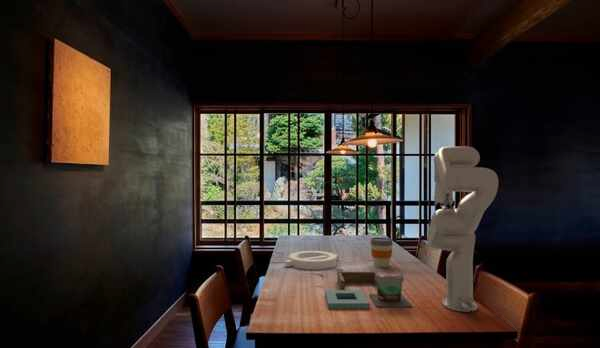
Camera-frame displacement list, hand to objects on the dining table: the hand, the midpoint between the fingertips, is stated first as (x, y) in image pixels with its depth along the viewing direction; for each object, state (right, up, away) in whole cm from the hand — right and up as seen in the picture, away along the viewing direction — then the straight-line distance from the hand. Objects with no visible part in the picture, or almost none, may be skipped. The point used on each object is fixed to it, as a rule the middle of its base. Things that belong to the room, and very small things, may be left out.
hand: (442, 215), depth 162 cm
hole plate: (-48, -33, -19) cm, 61 cm away
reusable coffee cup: (-19, -34, +40) cm, 56 cm away
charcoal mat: (-30, -33, -19) cm, 48 cm away
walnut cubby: (-39, -33, -1) cm, 51 cm away
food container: (-29, -32, -21) cm, 48 cm away
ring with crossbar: (-59, -34, +45) cm, 81 cm away
